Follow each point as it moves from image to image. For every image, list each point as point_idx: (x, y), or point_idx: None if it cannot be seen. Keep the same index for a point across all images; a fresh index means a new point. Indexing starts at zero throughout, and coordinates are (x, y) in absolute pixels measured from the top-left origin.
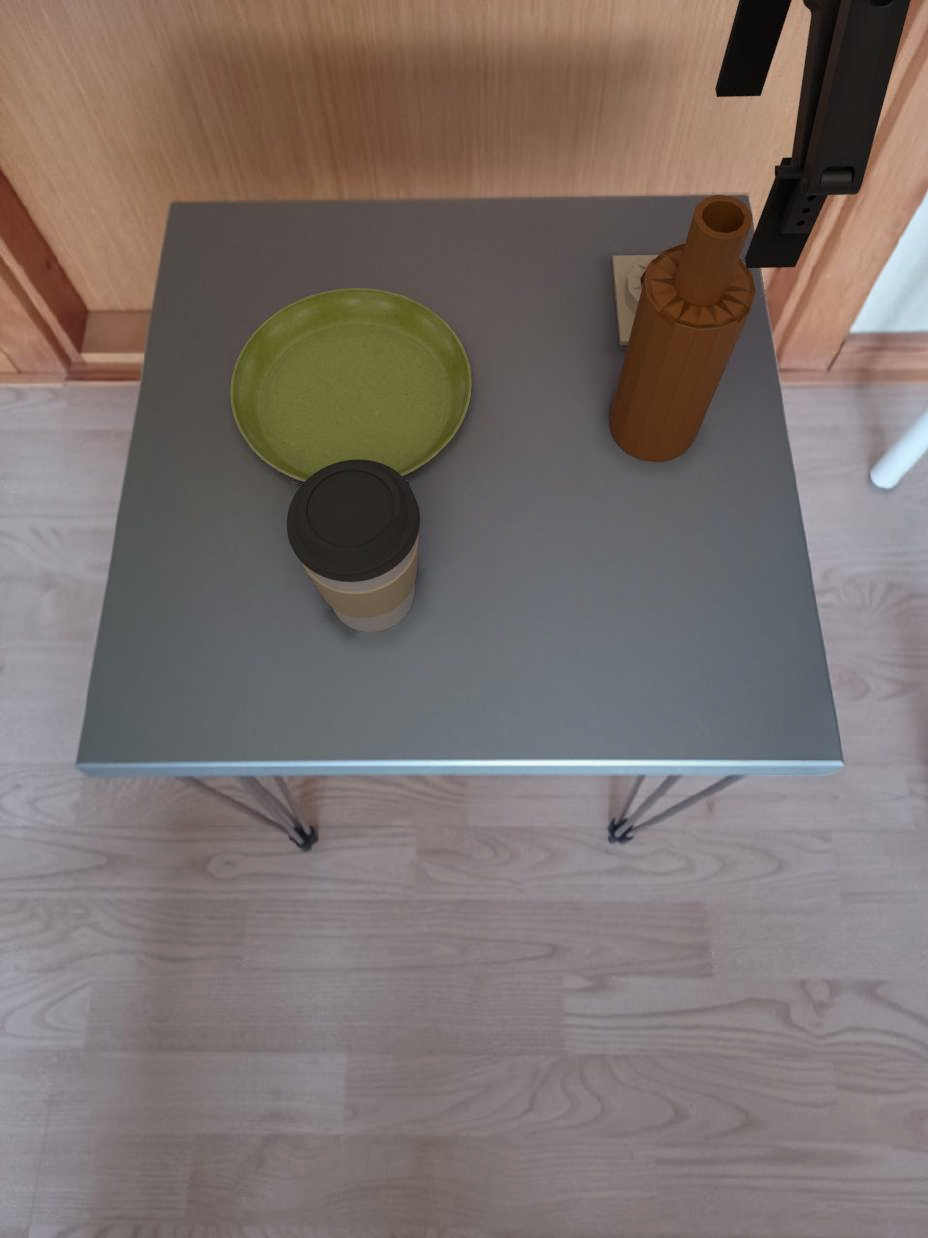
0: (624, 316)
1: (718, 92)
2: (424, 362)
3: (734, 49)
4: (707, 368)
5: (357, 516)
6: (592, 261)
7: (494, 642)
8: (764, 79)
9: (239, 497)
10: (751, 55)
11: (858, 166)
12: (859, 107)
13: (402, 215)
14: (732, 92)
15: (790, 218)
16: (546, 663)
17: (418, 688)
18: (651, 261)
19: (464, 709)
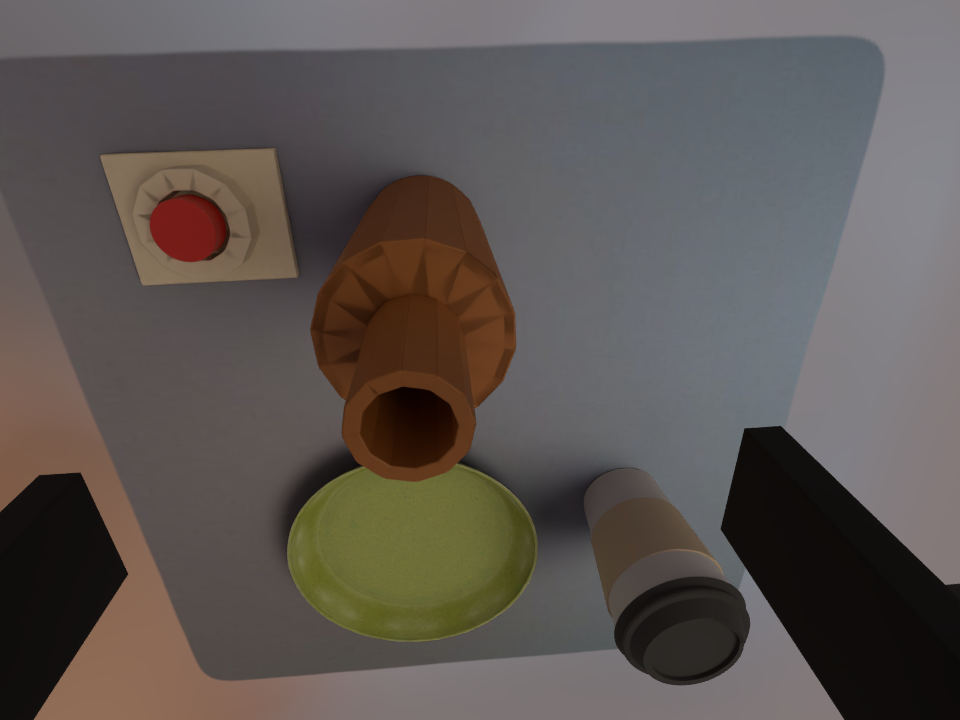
0: (253, 271)
1: (119, 582)
2: (361, 485)
3: (23, 712)
4: (497, 268)
5: (702, 642)
6: (156, 307)
7: (684, 400)
8: (45, 517)
9: (519, 597)
10: (12, 647)
11: None
12: None
13: (146, 518)
14: (105, 552)
15: None
16: (715, 354)
17: (716, 457)
18: (168, 254)
19: (743, 421)
